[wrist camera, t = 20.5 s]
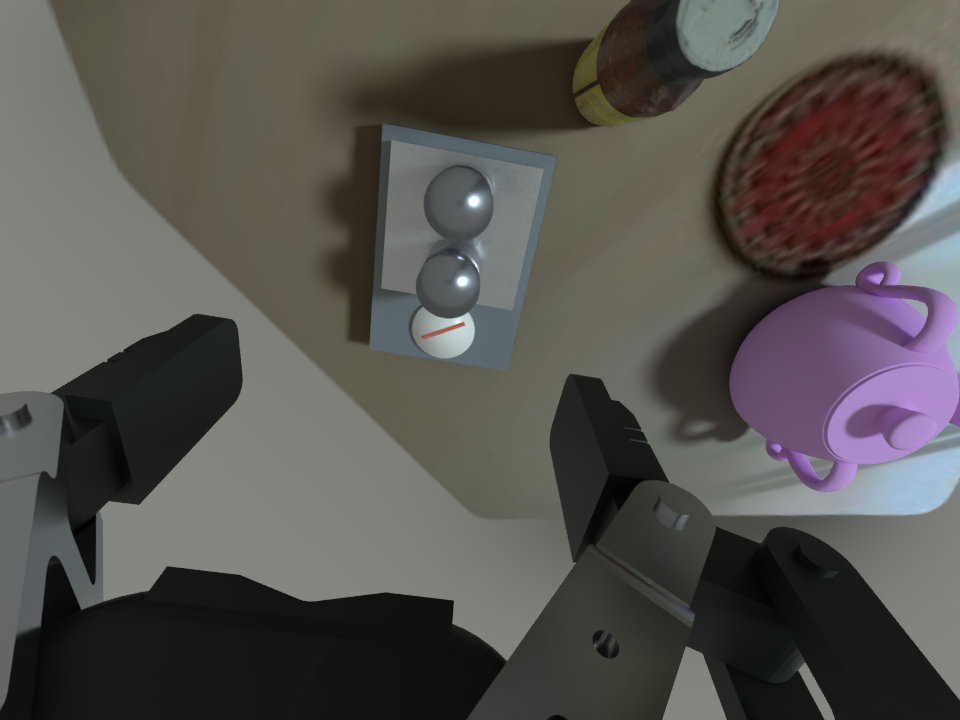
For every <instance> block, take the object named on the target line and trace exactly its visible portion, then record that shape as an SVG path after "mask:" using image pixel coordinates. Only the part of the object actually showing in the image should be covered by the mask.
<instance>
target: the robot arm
mask: <svg viewBox="0 0 960 720" xmlns="http://www.w3.org/2000/svg"><path fill="white" fill-rule="evenodd" d="M241 387H242V367H241V357H240V348H239V337H238V328H237V325H236V323H235V322H234V321H233V320H232V319H227V318H221V317H215V316H208V315H202V314H194V315H192V316H191V317H189V318H187V319H186V320H184V321H183V322H181V323H179V324H178V325H176V326H174V327H173V328H171V329H170V330H168V331H165V332H162V333H158V334H155V335H152V336H149V337H146V338H143V339H141V340H139V341H138V342H136V343H134V344H132V345H131V346H129V347H127V348H126V349H124V351H123V352H119V353H118V354H116V355H114V356H112V357H111V358H109V359H108V361H107V362H102V363H101V364H99V365H97V366H96V367H94V368H92V369H90V370H89V371H87V372H85V373H84V374H82V375H80V376H79V377H77V378H75V379H74V380H72V381H70V382H68V383H67V384H65V385H63V386H62V387H60V388H58V389H57V390H55V391H53V392H52V393H45V392H36V391H24V392H13V393H5V394H0V720H662V718H663V715H664V712H665V709H666V706H667V703H668V700H669V696H670V694H671V690H672V687H673V684H674V681H675V678H676V675H677V672H678V669H679V666H680V663H681V659H682V657H683V653H684V650H685V647H686V646H687V647H690V648H692V649H694V650H696V651H699V652H701V653H703V655H704V658H705V661H706V664H707V666H708V669H709V672H710V675H711V677H712V680H713V683H714V685H715V688H716V691H717V694H718V697H719V699H720V702H721V705H722V707H723V710H724V713H725V716H726V718H727V720H824V718H823V716H822V714H821V712H820V710H819V709H818V707H817V705H816V703H815V701H814V699H813V697H812V696H811V694H810V692H809V690H808V688H807V686H806V684H805V683H804V680H803V679H802V677H801V675H800V673H799V671H798V670H799V668H800V667H801V666H802V665H803V664H804V663H805V662H806V664H807V666H808V667H809V669H810V671H811V673H812V675H813V676H814V678H815V680H816V682H817V683H818V685H819V687H820V689H821V691H822V693H823V694H824V696H825V698H826V700H827V702H828V703H829V705H830V707H831V709H832V712H833V714H834V718H835V720H960V700H959V699H958V697H957V696H956V695H955V694H954V692H952V690H951V689H950V688H949V686H948V685H947V684H946V682H945V681H944V680H943V679H942V677H941V676H940V675H939V674H938V672H937V671H936V670H935V669H934V667H933V666H932V665H931V664H930V662H929V661H928V660H927V658H926V657H925V656H924V655H923V653H922V652H921V651H920V650H919V648H918V647H917V646H916V645H915V643H914V642H913V641H912V640H911V638H910V637H909V636H908V634H907V633H906V632H905V631H904V629H903V628H902V627H901V626H900V625H899V623H898V622H897V621H896V619H895V618H894V617H893V616H892V615H891V613H890V612H889V611H888V609H887V608H886V607H885V605H884V604H883V603H882V602H881V600H880V599H879V598H878V597H877V595H876V594H875V593H874V592H873V590H872V589H871V588H870V587H869V586H868V584H867V583H866V582H865V580H864V579H863V578H862V577H861V575H860V574H859V573H858V572H857V570H856V569H855V568H854V567H853V566H852V564H851V563H850V562H848V560H847V559H846V558H844V557H843V556H842V555H841V554H840V553H839V552H837V551H836V550H835V549H833V548H832V547H831V546H829V545H828V544H826V543H825V542H823V541H821V540H820V539H818V538H816V537H814V536H812V535H810V534H808V533H805V532H802V531H800V530H797V529H793V528H787V527H777V528H774V529H772V530H770V531H769V533H768V534H767V536H766V537H765V539H764V540H763V542H762V543H761V544H760V543H757V542H755V541H752V540H749V539H747V538H744V537H741V536H739V535H736V534H734V533H731V532H728V531H726V530H723V529H721V528H718V527H716V525H715V521H714V518H713V516H712V515H711V513H710V511H709V510H708V509H707V507H706V506H705V505H704V504H703V503H702V502H701V501H700V500H699V499H697V498H696V497H695V496H694V495H692V494H691V493H689V492H688V491H686V490H684V489H682V488H680V487H678V486H676V485H674V484H671V483H669V481H668V479H667V477H666V475H665V473H664V471H663V469H662V468H661V466H660V464H659V462H658V460H657V458H656V456H655V454H654V452H653V450H652V449H651V447H650V445H649V444H647V442H648V441H647V439H646V437H645V435H644V433H643V432H641V428H640V426H639V424H638V422H637V420H636V418H635V416H634V415H633V414H632V413H631V412H630V411H629V410H628V409H627V408H626V407H625V406H624V405H623V404H621V403H620V402H619V401H614V400H611V398H610V396H609V394H608V392H607V390H606V388H605V385H604V383H603V381H602V380H601V379H600V378H594V377H588V376H582V375H575V374H570V375H569V376H568V377H567V379H566V382H565V385H564V388H563V391H562V394H561V398H560V401H559V404H558V407H557V411H556V414H555V417H554V420H553V424H552V428H551V433H550V451H551V456H552V461H553V466H554V471H555V476H556V481H557V486H558V491H559V496H560V500H561V505H562V510H563V515H564V520H565V525H566V530H567V535H568V540H569V544H570V550H571V555H572V559H573V562H576V564H575V565H574V567H573V568H572V570H571V571H570V573H569V574H568V575H567V577H566V578H565V580H564V581H563V582H562V584H561V585H560V587H559V588H558V590H557V591H556V593H555V594H554V595H553V597H552V598H551V600H550V601H549V603H548V604H547V605H546V607H545V608H544V610H543V611H542V612H541V614H540V615H539V617H538V618H537V620H536V621H535V623H534V624H533V625H532V627H531V628H530V630H529V631H528V632H527V634H526V635H525V637H524V638H523V640H522V641H521V642H520V644H519V646H518V647H517V648H516V650H515V651H514V653H513V654H512V655H511V657H510V658H509V660H508V661H506V660H505V659H504V658H503V657H502V656H501V655H500V654H499V653H498V652H497V651H496V650H495V649H494V648H492V647H491V646H490V645H488V644H487V643H486V642H484V641H483V640H481V639H480V638H479V637H477V636H476V635H474V634H472V633H470V632H468V631H467V630H465V629H463V628H460V627H458V626H456V625H454V624H452V619H453V605H454V601H452V600H444V599H436V598H428V597H419V596H411V595H402V594H394V593H378V594H371V595H362V596H354V597H346V598H339V599H331V600H322V601H313V602H308V601H302V600H299V599H297V598H294V597H292V596H289V595H287V594H285V593H282V592H280V591H277V590H275V589H273V588H270V587H268V586H265V585H263V584H260V583H258V582H255V581H253V580H251V579H248V578H246V577H243V576H241V575H235V574H227V573H219V572H210V571H202V570H193V569H185V568H176V567H166V569H165V570H164V571H163V573H162V574H161V575H160V577H159V578H158V580H157V581H156V582H155V584H154V585H153V586H152V588H151V589H150V590H149V591H146V592H140V593H135V594H130V595H126V596H121V597H118V598H114V599H111V600H108V601H103V521H102V517H101V514H100V511H99V510H100V509H101V508H102V507H103V506H104V505H105V504H106V503H107V502H108V501H114V502H121V503H129V504H137V505H139V504H140V503H141V502H142V501H143V500H144V499H145V498H146V497H147V495H149V494H150V493H151V491H152V490H153V489H154V488H155V487H156V486H157V485H158V484H159V483H160V482H161V481H162V480H163V479H164V478H165V477H166V476H167V474H168V473H169V472H170V471H171V470H172V469H173V468H174V467H175V466H176V465H177V464H178V463H179V462H180V461H181V459H182V458H183V457H184V456H185V455H186V454H187V453H188V452H189V451H190V450H191V449H192V448H193V447H194V446H195V445H196V444H197V442H198V441H199V440H200V439H201V438H202V437H203V436H204V435H205V434H206V433H207V432H208V431H209V430H210V429H211V427H212V426H213V425H214V424H215V423H216V422H217V421H218V420H219V419H220V418H221V417H222V416H223V415H224V414H225V412H227V410H228V409H229V408H230V407H231V406H232V405H233V404H234V403H235V402H236V400H237V398H238V396H239V394H240V391H241Z"/></svg>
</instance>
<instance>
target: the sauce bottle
mask: <svg viewBox="0 0 960 720" xmlns="http://www.w3.org/2000/svg"><path fill="white" fill-rule="evenodd" d="M778 3H779V0H631V1H630V3H629V4H627V5H626V6H625V7H624V8H622V9H621V10H620V11H619V12H618V13H617V14H616V16H615V17H614V18H613V19H612V20H611V21H610V22H609V23H608V25H607V26H606V27H605V28H604V29H603V30H602V31H601V32H600V33H599V34H598V36H597V37H596V38H595V39H594V40H593V41H592V42H591V43H590V44H589V46H588V47H587V48H586V49H585V51H584V52H583V54H582V55H581V57H580V59H579V61H578V63H577V65H576V66H575V72H574V77H573V83H572V86H573V87H572V91H573V94H572V96H573V101H574V104H575V106H576V108H577V110H578V111H579V113H580V114H581V115H582V116H583V117H584V118H586V120H588V121H589V122H590V123H592V124H594V125H600V126H605V127H613V126H618V125H622V124H627V123H632V122H637V121H641V120H645V119H649V118H653V117H656V116H659V115H662V114H664V113H666V112H669V111H673V110H675V109H676V108H677V107H678V106H679V105H680V104H681V103H683V102H684V101H685V100H686V99H687V98H688V97H689V96H690V95H691V94H692V93H693V92H694V91H695V90H696V89H697V88H698V87H699V85H700V84H701V83H702V81H703V80H704V79H707V78H711V77H715V76H719V75H721V74H723V73H725V72H728V71H729V70H732V69H734V68H735V67H737V66H739V65H741V64H742V63H744V62H745V61H746V60H748V59H749V58H751V57H752V56H753V54H754V53H755V52H756V51H757V50H758V48H759V47H760V46H761V44H762V43H763V41H764V40H765V38H766V37H767V35H768V33H769V32H770V30H771V27H772V25H773V23H774V20H775V17H776V14H777V10H778Z"/></svg>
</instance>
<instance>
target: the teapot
mask: <svg viewBox="0 0 960 720" xmlns="http://www.w3.org/2000/svg"><path fill="white" fill-rule="evenodd" d="M883 275H884V278H883V280H882V281H881V282H880V284H879V281H880V279H881V277H882V276H883ZM900 277H901V273H900V270H899V269H898V268H897V266H895V265H894V264H892V263H888V262H876V263H872V264H870V265H868V266H867V267H865V268H864V269H863V270H862V271H861V272H860V273H859V274H858V276H857V277H856V286H854V285H846V286H833V287H828V288H822V289H818V290H815V291H812V292H808V293H806V294H804V295H801V296H799V297H796V298H794V299H792V300H790V301H788V302H787V303H785V304H783V305H781V306H780V307H778V308H777V309H775V310H774V311H772V312H771V313H770V314H768V315H767V316H766V317H765V318H763V319H762V320H761V321H760V322H759V323H758V324H757V325H756V326H755V327H754V328H753V329H752V331H751V332H750V333H749V334H748V335H747V337H746V338H745V340H744V341H743V343H742V344H741V346H740V348H739V350H738V352H737V354H736V356H735V359H734V362H733V364H732V368H731V373H730V381H729V387H730V394H731V398H732V402H733V405H734V407H735V409H736V411H737V412H738V414H739V415H740V416H741V418H742V419H743V420H744V421H745V422H746V423H747V424H748V425H750V426H751V427H752V428H753V429H754V430H755V431H757V432H758V433H760V434H761V435H763V436H764V437H766V438H767V441H766V451H767V453H768V454H769V456H771V457H772V458H774V459H775V460H778V461H782V462H783V461H787V460H788V461H789V463H790V465H791V467H792V469H793V470H794V472H795V473H796V475H797V476H798V478H799V479H800V480H801V481H802V482H803V483H804V484H805V485H806V486H808V487H809V488H811V489H814V490H816V491H821V492H834V491H838V490H840V489H842V488H844V487H846V486H847V485H848V484H849V483H850V482H851V481H852V479H853V477H854V475H855V473H856V470H857V464H864V465H865V464H877V463H883V462H888V461H892V460H895V459H898V458H901V457H903V456H906V455H908V454H910V453H912V452H914V451H916V450H918V449H919V448H921V447H923V446H924V445H926V444H927V443H928V442H930V441H931V440H932V439H933V438H935V437H936V436H937V435H938V434H939V433H940V432H941V431H942V430H943V429H944V427H945V426H946V425H947V424H948V423H951V424H954V425H957V426H960V380H958V379H957V374H956V371H955V368H954V365H953V363H952V360H951V357H950V355H949V352H948V350H947V348H946V346H945V344H944V342H945V341H946V340H947V339H948V338H949V336H950V335H951V334H952V332H953V330H954V328H955V325H956V322H957V308H956V305H955V303H954V302H953V301H952V299H951V298H949V297H948V296H947V295H945V294H943V293H941V292H939V291H937V290H933V289H930V288H925V287H918V286H905V285H896V284H897V283H898V282H899V280H900ZM899 298H904V299H913V300H918V301H921V302H923V303H925V304H926V305H927V307H928V316H927V319H926V318H925V317H923V316H922V315H921V314H920V313H919V312H918V311H917V310H915V309H914V308H913V307H912V306H910V305H909V304H907V303H906V302H905V301H903V300H901V299H899ZM805 455H809V456H812V457H817V458H821V459H826V460H831V461H834V464H833V467H832V469H831V471H830V473H829V475H828V476H827V477H826V478H825V479H824V480H822V479H821V478H820V477H819V476H818V475H817V474H816V472H815V471H814V470H813V468H812V466H811V465H810V463H809V461H808V459H807V458H806V456H805Z"/></svg>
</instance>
